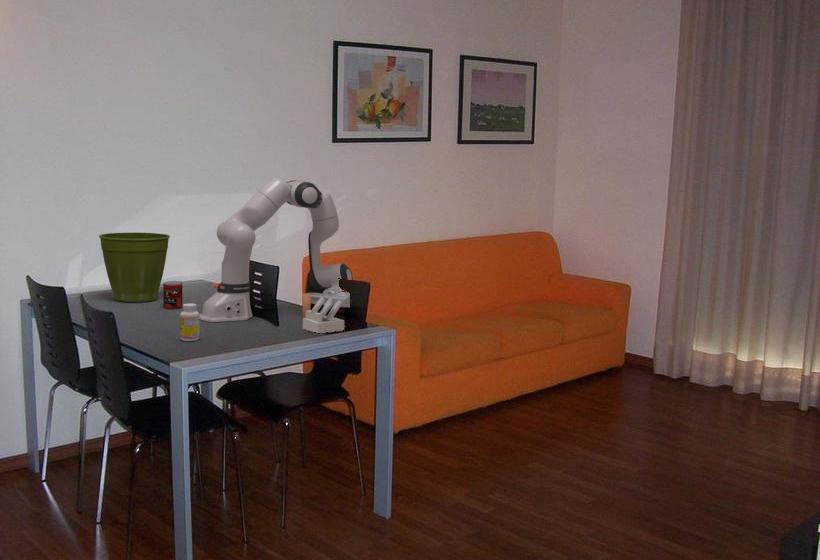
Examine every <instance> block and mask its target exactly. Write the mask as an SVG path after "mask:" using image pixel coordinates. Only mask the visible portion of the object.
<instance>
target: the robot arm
mask: <svg viewBox="0 0 820 560" xmlns="http://www.w3.org/2000/svg"><path fill="white" fill-rule="evenodd" d="M284 204H288V205H291V206H294V207H296V208H305V209H308V210H309V213H310V217H311V221H312V229H311V231H310V232H309V233H308V241H307V243H308V245H307V246H308V261H309V276H308V278H309V283H310V284H311V286H313V287H314V288H315V289H317V290H322V289H324V290H323V292H322V293H320V292H308V293H309V294H311V305H312V304H314V305H315V304H316V303H317V302H318V300H319V299H320V298H321V297H322V298H324V299H325V301H324V303H323V304H322V306H324V305H325V304H326V302H327V301H328V299H329V298H332V299H333V300H334V301H333V302H332V303H333V305H332V306H331V307H330V309H332V308H333V306H334V305H335V303H336V302H338V300H340V301H341V302H342V303H343V304H342V305H341V306H340V308H350V307H351V306H350V293H349V292H347V291H344V290H342V289H341V288H340V287H339V280H340V279H346V280H354V279H353V273H352V270H351V268H350V267H349V266H348V265H346V263H335V264H328V265H324V264H322V260H321V259H322V258H321V255H322V254H321V245H322V244H323V242H325V241H326V240H329V239H330V238H332V237H333V236H335V234H336V233H337V232H338V231H339V227H340V220H339V216H338V212H337V209H336V205H335V203H334V200H333V197H332V195H331V194H330V193H328V192H327V191H320V189H319V188H318V187H317V186H316V185H315V184H314V183H313V182H310V181H305V180H302V179H301V180H295V179H294V180H290V181H286V180H285V179H283V178H281V177H274V178H273V179H271V180H270V181H268V182H267V183H265V184H264V185H263V186H261V188H260V189H259V190H257V192H255V194H254V195H253V196H252V197H251V198H250V199H249V200H248V201H247V203H246V204H244V206H242V207H241V208H239V210H236V212H235V213H234V214H231V216H230V217H228V218H227V219H226V220H225V221H223V222H222V223H220V224H219V225H218V226H217V229H216V237H217V238H218V239H217V240H218V241H219V243H221V245H223V246H225V250H224V255H223V256H224V257H223V260H222V261H221V281H220V283H217V282H214V283H213V284H212V288H213V289H217V290H216V292H215V293H214V294H212V296H210V297H209V298H207V300H205V301H204V303H203V305H202V312H201V313H199V321H200V320H201V321H204V322H209V323H210V322H211V323H217V322H218V323H219V322H233V321H235V322H237V321H248V320H249V319H250V318H252V317H253V312H252V308H251V301H250V293H251V283H250V262H251V255H252V252H253V251H252V250H253V247H254V245H255V243H256V238H257V237H256V234H255V231H256V230H257V229H259V228H260V227H262V226H264V225H265V224H267V222H268V221H270V219H271V218H272V217H273V216H274V215H275V214H276V213H277V212H278V211H279V210H280V208H282V206H283V205H284ZM338 278H340V279H338ZM302 302H303V295H302Z"/></svg>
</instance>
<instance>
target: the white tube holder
mask: <svg viewBox="0 0 820 560" xmlns="http://www.w3.org/2000/svg"><path fill="white" fill-rule="evenodd" d="M324 301H325V299H324V298H322V297H321V298H320V299H319V300H318V302H317V303H316V304H314V306H313V307H312V309H311V311H310V310H307V311H306V318H303V324H302V329H303V330H306V331H309V332H312V333H314V332H316V333H315V334H317V333H320V334H326V332H328V333H333V332H335V331H336V332H343V330H344V331H345V320H344V319H341V318H338V317H335V315H336V314H337V312H338V311H339V309H340V308H341V307H340V306H341V305H342V304H343V303H342V302H341V301H340V300H338V302H336V303H335V305H334V306H333V308H330V307H331V306H332V305H333V303H332V302H333V301H334V300H333V299H332V298H329V299H328V301H327V302H326V304H325V305H322V304H323V303H324ZM322 306H323V307H322ZM320 309H321V310H320ZM328 312H329V313H328ZM327 313H328V314H327Z"/></svg>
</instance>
